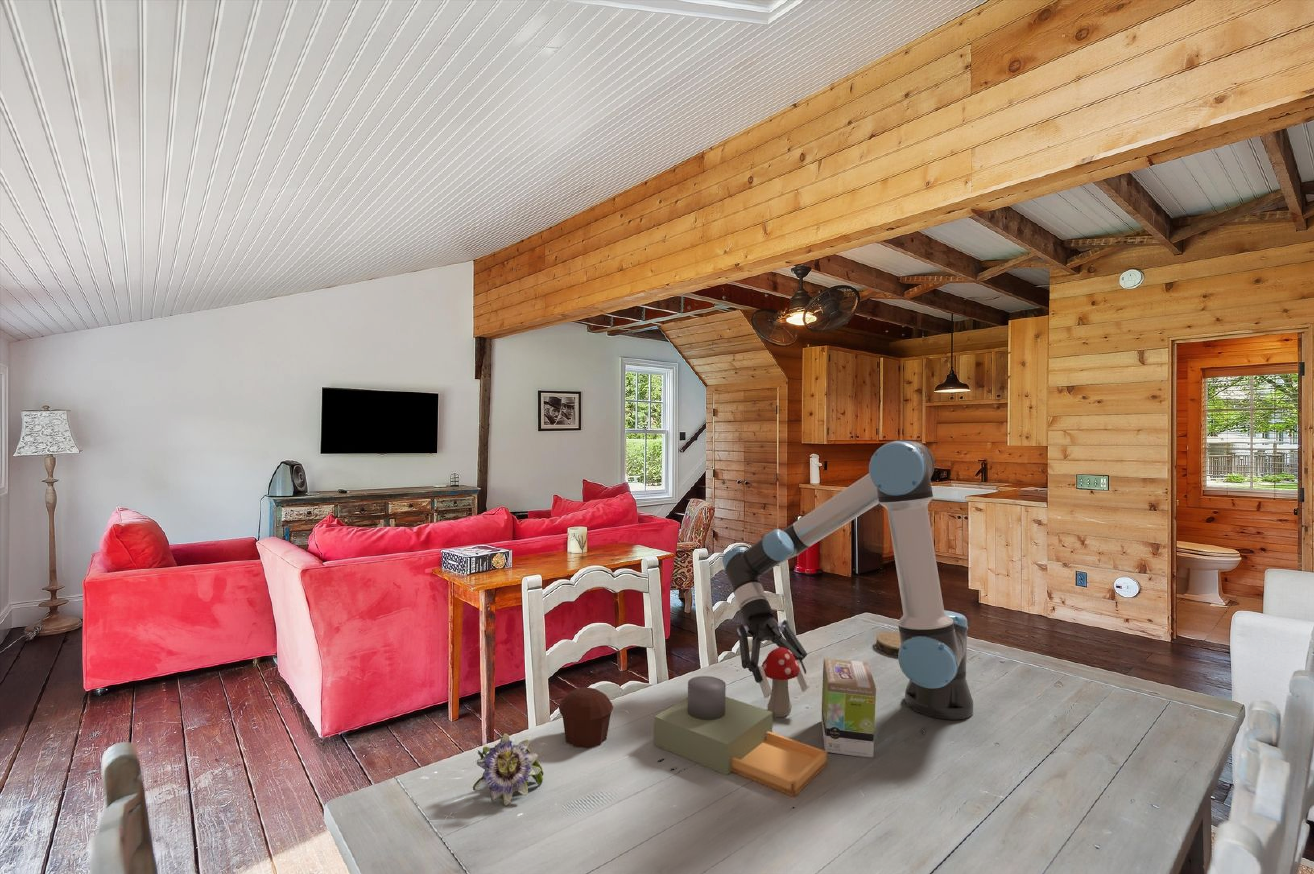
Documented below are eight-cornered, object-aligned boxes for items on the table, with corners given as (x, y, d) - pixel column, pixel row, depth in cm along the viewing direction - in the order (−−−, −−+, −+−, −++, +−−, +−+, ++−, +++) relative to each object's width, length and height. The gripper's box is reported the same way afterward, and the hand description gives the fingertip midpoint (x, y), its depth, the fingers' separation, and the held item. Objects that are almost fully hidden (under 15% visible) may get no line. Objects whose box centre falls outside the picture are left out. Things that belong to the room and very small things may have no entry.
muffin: (622, 732, 139) (623, 686, 139) (596, 756, 129) (597, 707, 129) (575, 720, 144) (576, 676, 144) (547, 742, 134) (548, 695, 134)
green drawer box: (830, 760, 129) (832, 701, 129) (790, 801, 115) (791, 735, 114) (702, 714, 148) (703, 663, 148) (653, 744, 134) (654, 687, 134)
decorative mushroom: (772, 699, 157) (773, 638, 156) (805, 709, 152) (806, 646, 151) (753, 714, 149) (754, 650, 148) (787, 724, 144) (789, 658, 143)
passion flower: (506, 833, 113) (469, 794, 108) (493, 790, 122) (459, 752, 118) (560, 788, 116) (526, 748, 111) (543, 750, 125) (511, 711, 120)
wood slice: (881, 657, 188) (881, 647, 188) (872, 639, 203) (872, 630, 203) (938, 661, 185) (938, 651, 185) (925, 643, 201) (925, 633, 201)
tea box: (875, 759, 130) (877, 687, 129) (824, 753, 132) (825, 682, 131) (866, 725, 145) (868, 660, 144) (820, 720, 147) (822, 656, 146)
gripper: (785, 608, 168) (820, 692, 154) (709, 616, 160) (739, 705, 146) (797, 593, 163) (834, 678, 149) (719, 601, 155) (751, 692, 141)
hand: (787, 692), depth 147 cm, fingers closed on decorative mushroom, 9 cm apart
